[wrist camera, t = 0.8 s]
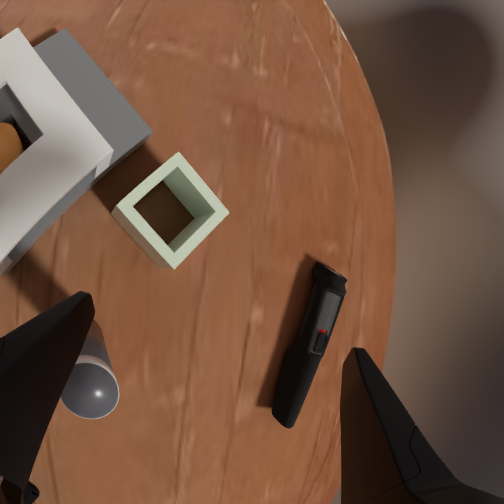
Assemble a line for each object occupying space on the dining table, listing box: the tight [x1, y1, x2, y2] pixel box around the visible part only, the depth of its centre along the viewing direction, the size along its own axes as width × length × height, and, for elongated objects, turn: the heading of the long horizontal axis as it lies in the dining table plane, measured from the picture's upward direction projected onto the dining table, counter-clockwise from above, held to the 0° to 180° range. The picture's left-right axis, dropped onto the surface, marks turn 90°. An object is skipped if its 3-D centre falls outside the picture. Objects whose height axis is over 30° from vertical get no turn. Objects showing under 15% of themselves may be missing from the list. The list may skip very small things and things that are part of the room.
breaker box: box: [0, 28, 153, 275], centre depth 15 cm, size 14×12×6 cm
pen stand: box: [111, 152, 229, 269], centre depth 21 cm, size 5×5×4 cm
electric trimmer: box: [272, 262, 347, 428], centre depth 28 cm, size 4×16×3 cm, turn 156°
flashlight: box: [60, 320, 119, 419], centre depth 15 cm, size 3×3×10 cm
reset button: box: [0, 122, 24, 174], centre depth 14 cm, size 3×3×3 cm
